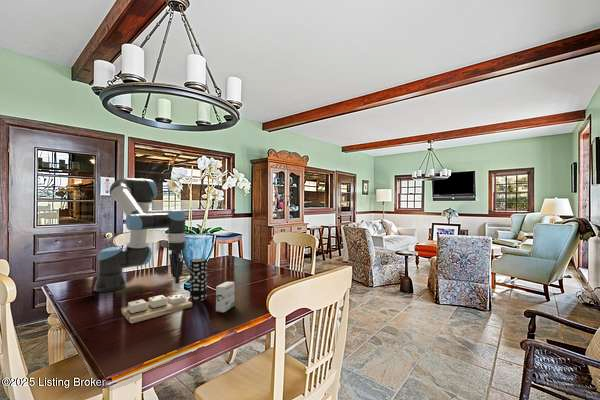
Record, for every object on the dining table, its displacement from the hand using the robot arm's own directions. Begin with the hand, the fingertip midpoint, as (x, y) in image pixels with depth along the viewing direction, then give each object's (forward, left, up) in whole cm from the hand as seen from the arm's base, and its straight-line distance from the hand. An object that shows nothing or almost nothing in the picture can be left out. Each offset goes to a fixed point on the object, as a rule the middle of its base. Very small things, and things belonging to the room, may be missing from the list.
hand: (176, 289), depth 135 cm
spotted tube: (-1, +12, -8) cm, 14 cm away
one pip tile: (0, -17, -5) cm, 18 cm away
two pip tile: (0, -8, -5) cm, 10 cm away
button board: (0, -8, -8) cm, 11 cm away
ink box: (+21, +15, -8) cm, 27 cm away
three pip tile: (0, 0, -7) cm, 7 cm away
